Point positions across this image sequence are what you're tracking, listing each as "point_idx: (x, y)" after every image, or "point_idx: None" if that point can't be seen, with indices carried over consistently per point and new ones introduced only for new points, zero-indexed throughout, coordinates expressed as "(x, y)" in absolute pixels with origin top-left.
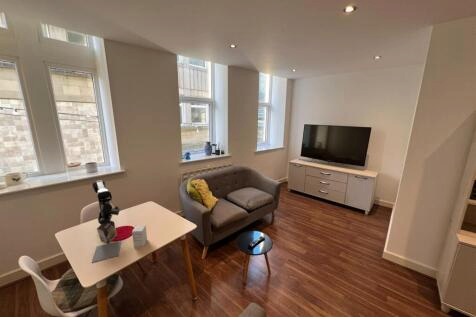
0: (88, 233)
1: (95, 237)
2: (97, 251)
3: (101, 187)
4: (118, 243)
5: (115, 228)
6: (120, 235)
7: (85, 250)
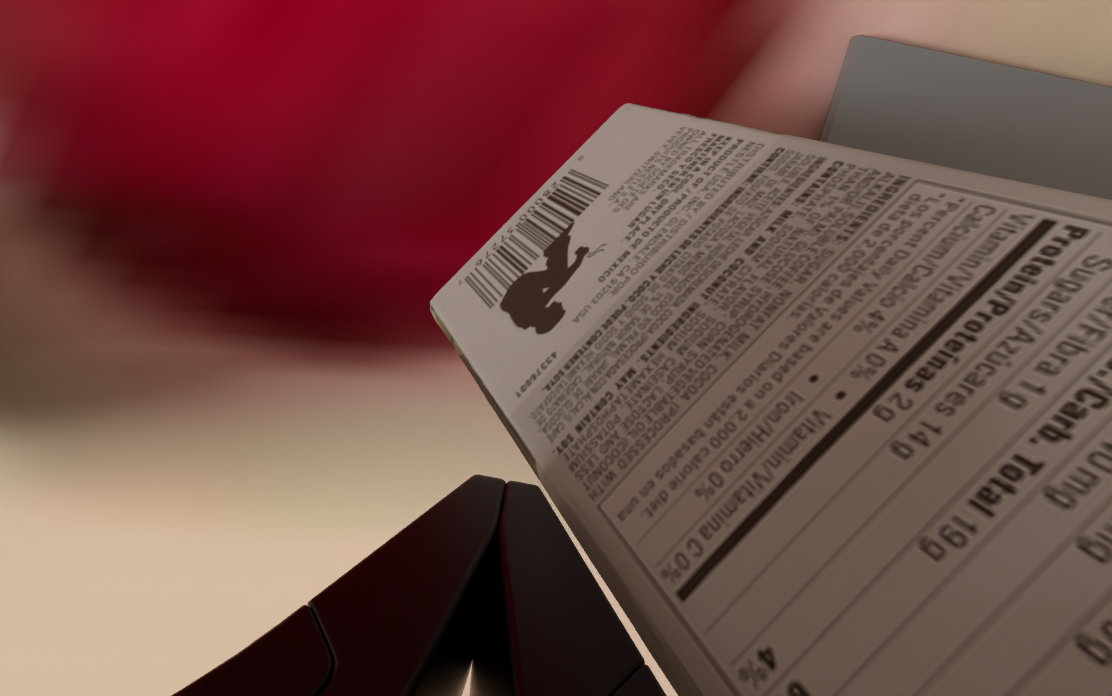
0: (8, 636)
1: (254, 539)
2: None
3: None
4: (951, 111)
5: (961, 177)
6: (488, 5)
7: (668, 688)
